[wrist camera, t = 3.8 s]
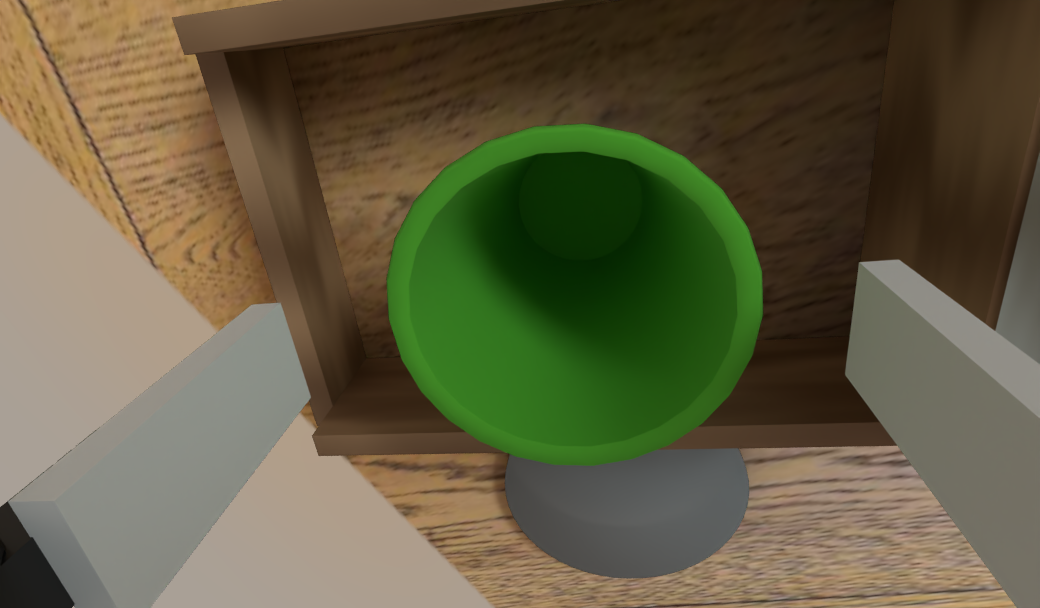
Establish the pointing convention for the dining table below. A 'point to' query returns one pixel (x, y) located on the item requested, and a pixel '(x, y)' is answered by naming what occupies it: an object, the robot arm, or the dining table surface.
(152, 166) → the dining table surface
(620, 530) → the gray round coaster
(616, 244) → the cup
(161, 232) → the dining table surface
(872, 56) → the dining table surface
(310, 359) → the cold frame
